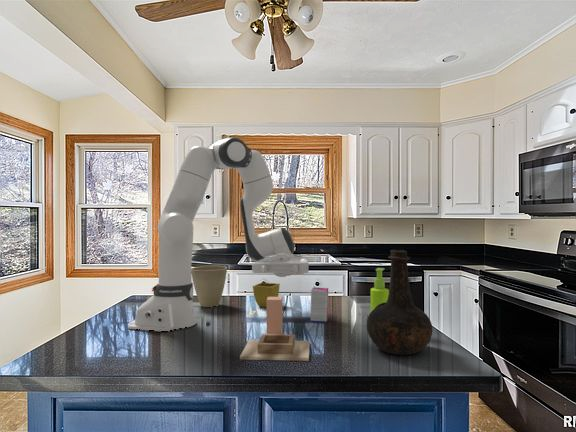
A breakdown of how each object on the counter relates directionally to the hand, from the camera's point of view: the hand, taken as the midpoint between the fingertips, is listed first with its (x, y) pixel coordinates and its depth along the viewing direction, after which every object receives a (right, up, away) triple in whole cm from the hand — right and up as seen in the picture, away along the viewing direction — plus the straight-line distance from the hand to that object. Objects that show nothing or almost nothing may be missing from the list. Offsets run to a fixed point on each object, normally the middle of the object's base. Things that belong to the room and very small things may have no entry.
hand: (278, 269), depth 136 cm
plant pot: (-30, -19, +31) cm, 47 cm away
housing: (0, -19, -25) cm, 32 cm away
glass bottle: (+34, -19, -25) cm, 46 cm away
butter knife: (-11, -20, +11) cm, 25 cm away
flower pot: (-6, -19, +30) cm, 37 cm away
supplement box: (+15, -19, +7) cm, 25 cm away
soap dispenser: (+34, -19, -4) cm, 39 cm away
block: (-1, -19, -12) cm, 23 cm away
